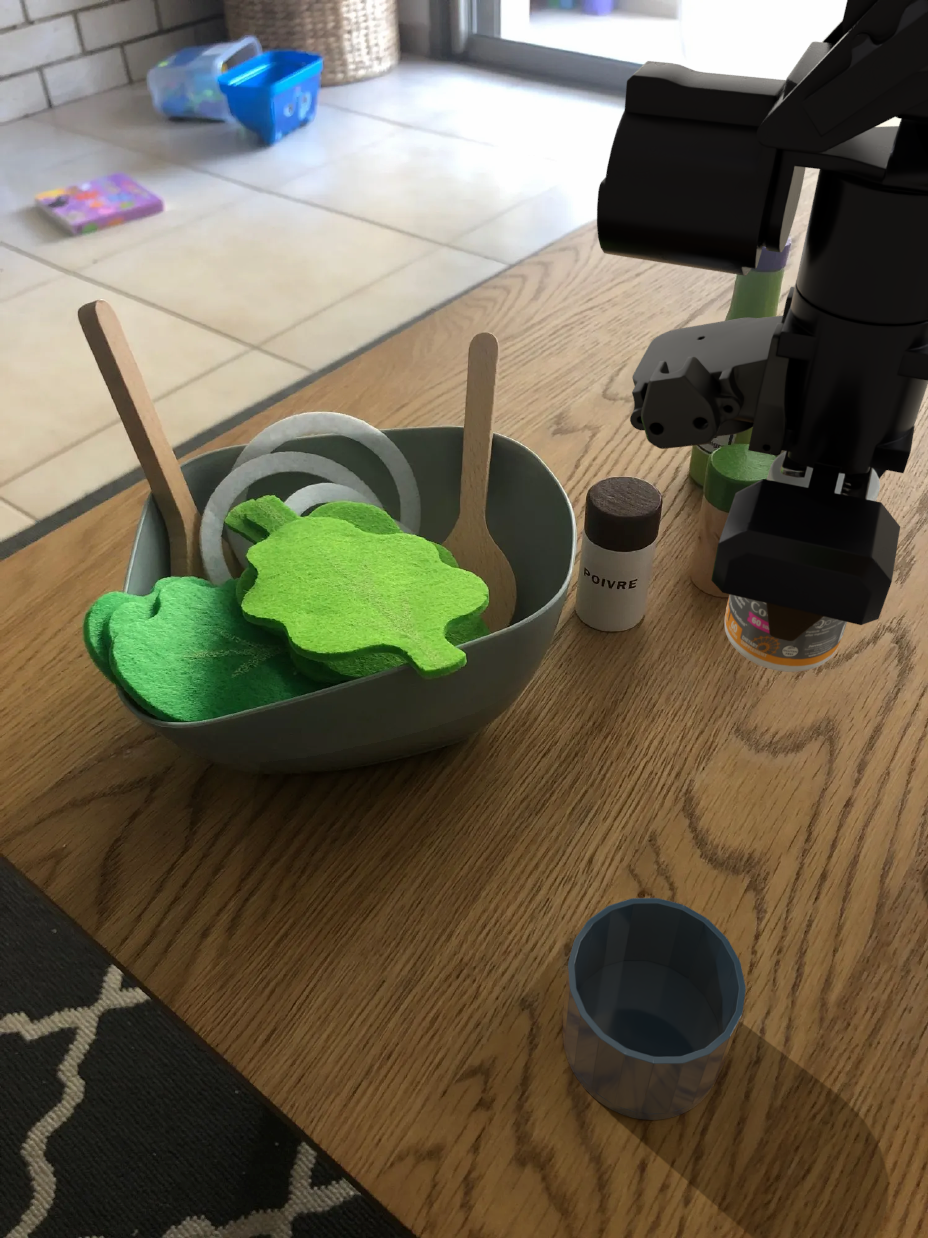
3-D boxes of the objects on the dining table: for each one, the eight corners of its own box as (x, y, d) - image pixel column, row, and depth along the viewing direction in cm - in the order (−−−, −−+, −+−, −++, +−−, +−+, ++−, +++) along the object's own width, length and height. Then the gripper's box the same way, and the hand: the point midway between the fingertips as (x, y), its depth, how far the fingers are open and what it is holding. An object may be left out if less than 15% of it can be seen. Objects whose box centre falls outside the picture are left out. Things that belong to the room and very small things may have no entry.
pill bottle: (698, 629, 51) (728, 468, 44) (775, 582, 54) (814, 423, 47) (786, 695, 48) (833, 532, 41) (863, 642, 50) (920, 480, 43)
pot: (707, 962, 49) (727, 896, 45) (736, 1120, 43) (761, 1062, 39) (557, 963, 49) (562, 898, 45) (568, 1121, 44) (575, 1064, 39)
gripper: (713, 176, 46) (674, 457, 57) (595, 374, 34) (574, 685, 45) (972, 206, 43) (879, 498, 54) (945, 436, 31) (831, 756, 42)
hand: (792, 595), depth 49 cm, fingers closed on pill bottle, 6 cm apart
